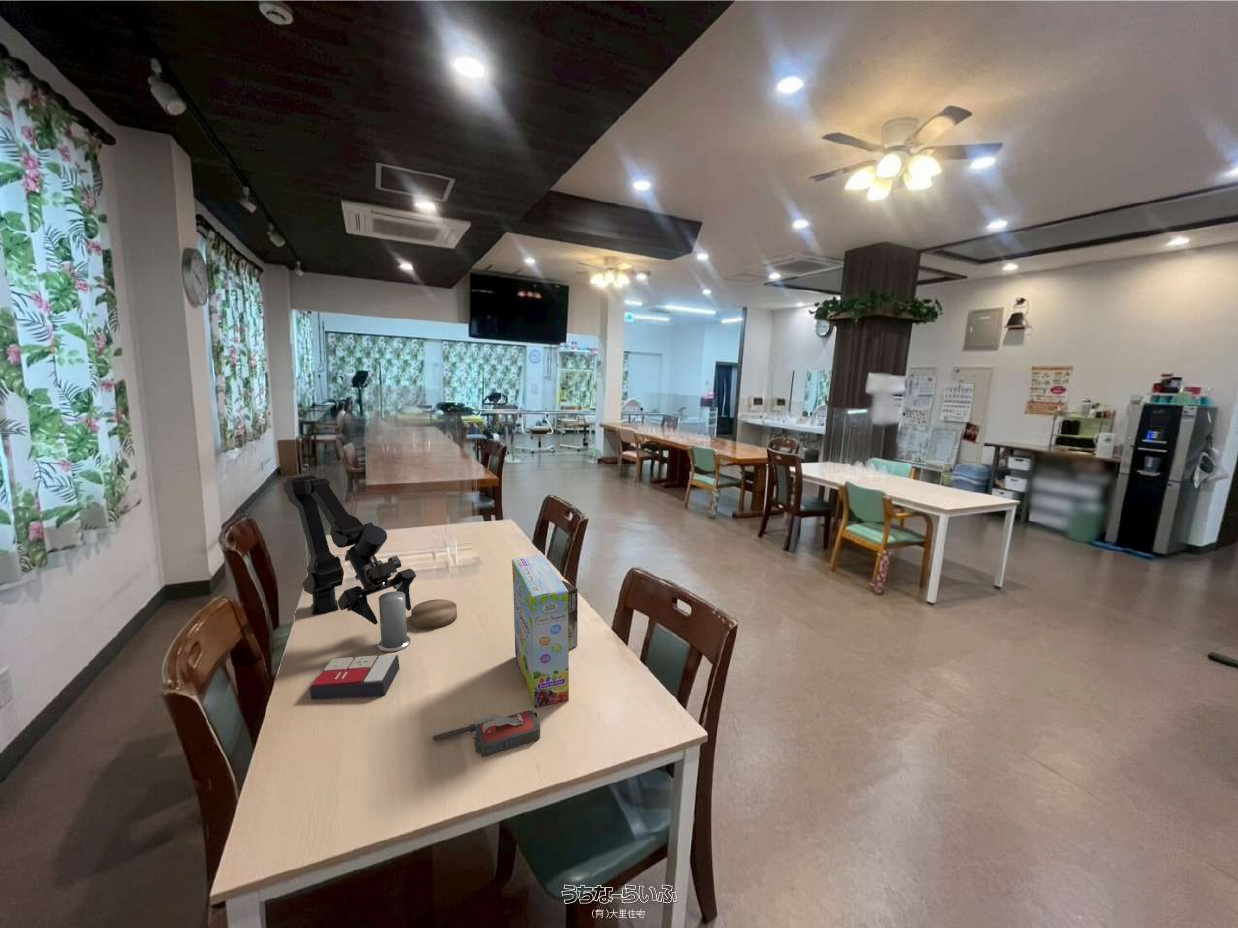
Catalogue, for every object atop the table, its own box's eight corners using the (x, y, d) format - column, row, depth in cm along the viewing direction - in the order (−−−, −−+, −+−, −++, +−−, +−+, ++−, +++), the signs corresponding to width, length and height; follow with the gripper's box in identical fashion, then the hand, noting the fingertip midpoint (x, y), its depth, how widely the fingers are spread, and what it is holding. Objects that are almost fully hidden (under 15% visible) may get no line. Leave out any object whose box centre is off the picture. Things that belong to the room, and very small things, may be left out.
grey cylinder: (375, 641, 132) (373, 593, 130) (407, 633, 136) (405, 587, 134) (380, 655, 126) (377, 605, 123) (413, 647, 130) (411, 599, 127)
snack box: (511, 656, 127) (510, 557, 122) (545, 649, 130) (546, 553, 125) (531, 710, 107) (530, 595, 102) (571, 701, 111) (572, 589, 106)
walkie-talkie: (533, 713, 107) (431, 741, 98) (533, 693, 106) (431, 720, 97) (547, 740, 99) (438, 773, 90) (547, 719, 99) (437, 751, 90)
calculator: (330, 656, 119) (398, 651, 120) (333, 673, 119) (400, 668, 121) (308, 685, 108) (382, 679, 110) (310, 703, 109) (384, 697, 110)
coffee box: (562, 636, 137) (563, 579, 134) (578, 646, 133) (579, 587, 130) (534, 648, 131) (534, 589, 128) (549, 659, 126) (549, 597, 123)
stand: (407, 614, 146) (407, 604, 146) (450, 605, 153) (450, 596, 152) (416, 633, 137) (416, 622, 136) (462, 622, 143) (461, 612, 142)
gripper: (340, 559, 122) (370, 615, 118) (410, 539, 137) (438, 588, 133) (325, 582, 127) (353, 637, 123) (394, 560, 143) (420, 608, 139)
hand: (393, 616), depth 129 cm, fingers open, 9 cm apart
